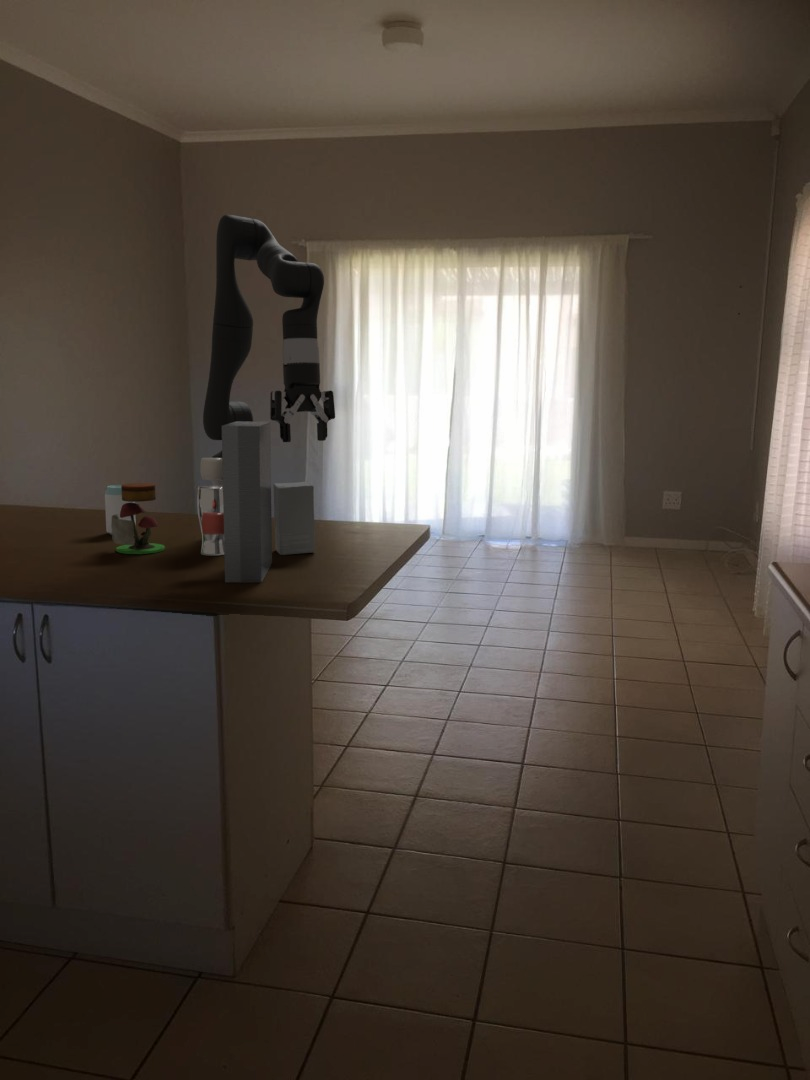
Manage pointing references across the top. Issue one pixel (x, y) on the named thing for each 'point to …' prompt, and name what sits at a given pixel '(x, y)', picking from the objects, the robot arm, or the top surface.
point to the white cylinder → (211, 469)
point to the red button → (213, 523)
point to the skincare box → (294, 518)
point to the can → (114, 505)
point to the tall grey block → (247, 500)
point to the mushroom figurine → (127, 529)
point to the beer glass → (210, 503)
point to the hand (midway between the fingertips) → (304, 441)
